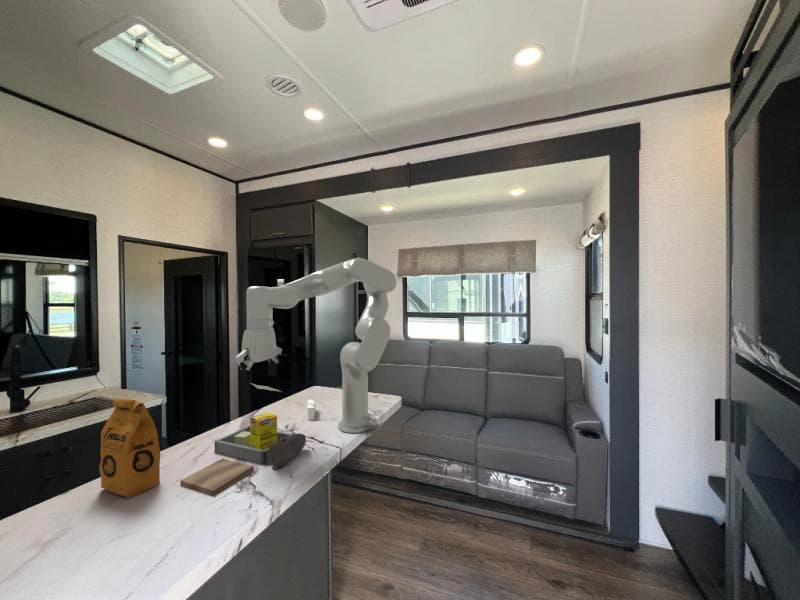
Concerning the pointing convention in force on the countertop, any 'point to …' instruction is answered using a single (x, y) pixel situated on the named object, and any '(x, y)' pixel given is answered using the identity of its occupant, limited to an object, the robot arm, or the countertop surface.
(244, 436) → the olive block
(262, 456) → the bin
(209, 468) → the pad
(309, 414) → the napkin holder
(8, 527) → the countertop surface
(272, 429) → the supplement box
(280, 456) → the perforated stone tool
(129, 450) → the coffee package
